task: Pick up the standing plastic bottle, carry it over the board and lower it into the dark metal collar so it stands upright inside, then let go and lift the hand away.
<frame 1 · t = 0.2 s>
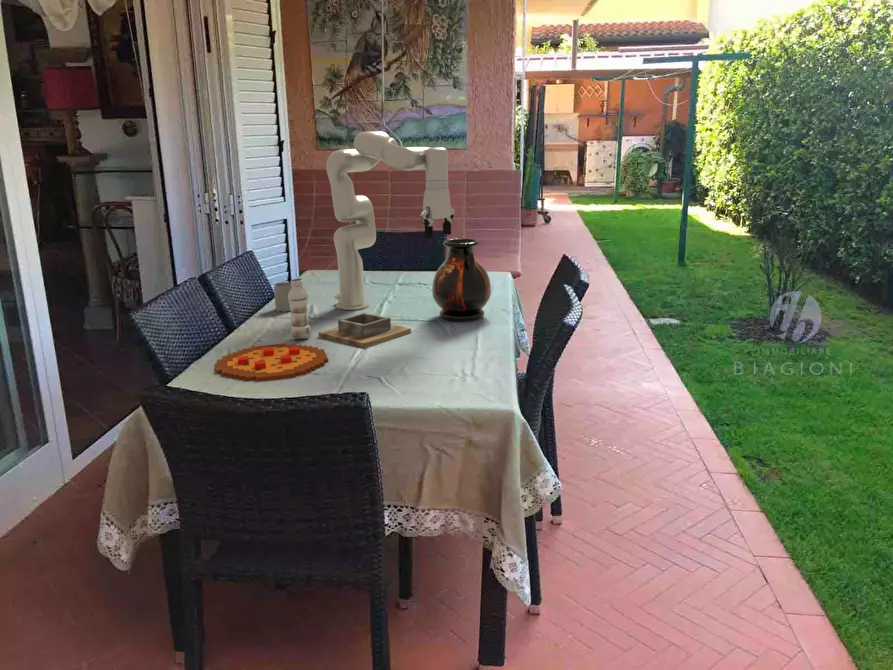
hand: (438, 236, 250), 31 cm above the table, fingers open, 9 cm apart
cup: (286, 309, 284), on the table
plastic bottle: (301, 339, 243), on the table
collar board: (365, 334, 247), on the table
pizza: (272, 364, 219), on the table
amphora vase: (461, 317, 268), on the table
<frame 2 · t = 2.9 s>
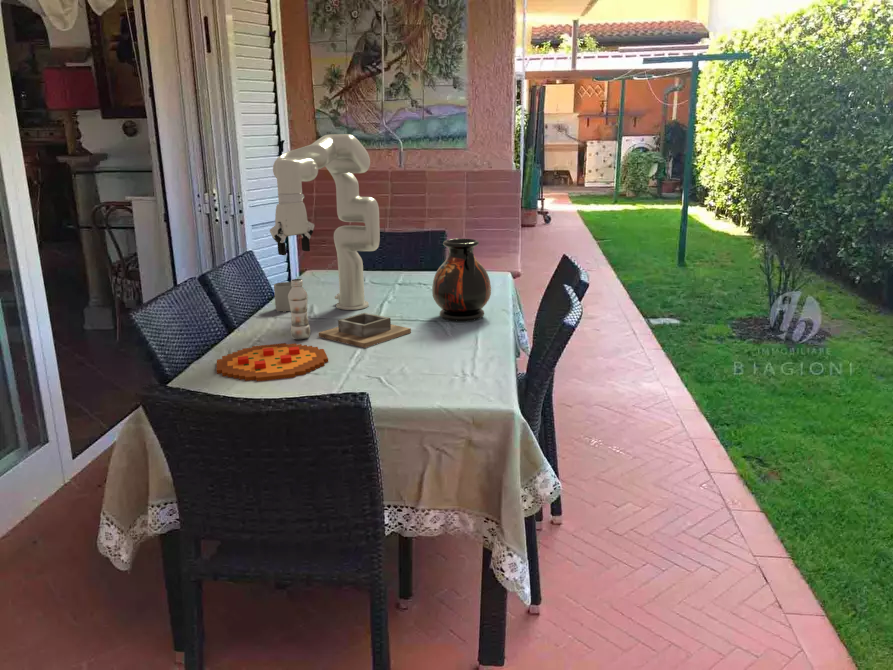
hand: (294, 252, 235), 29 cm above the table, fingers open, 9 cm apart
nothing on the table moved.
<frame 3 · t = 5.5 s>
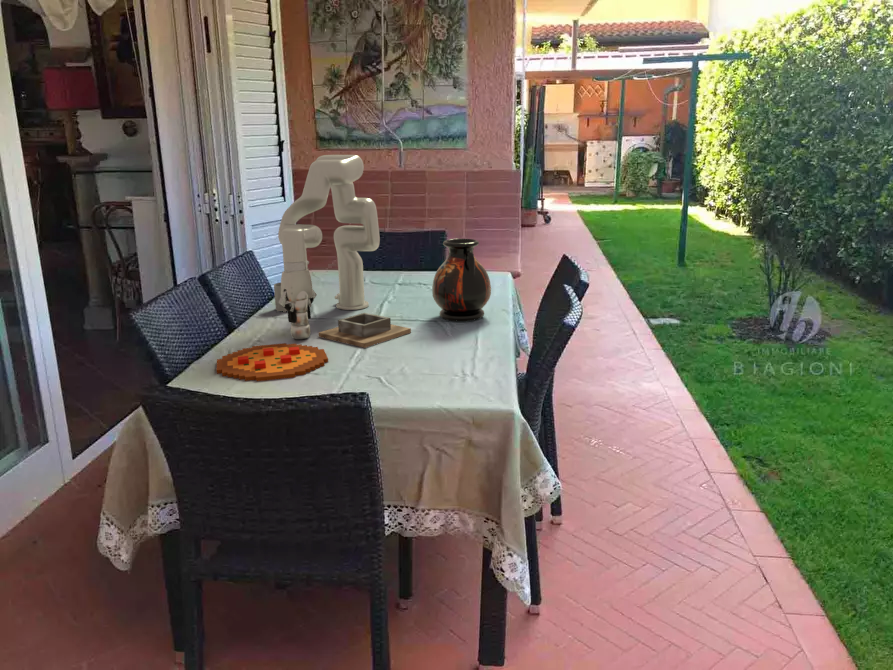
hand: (299, 319, 241), 7 cm above the table, fingers closed on plastic bottle, 5 cm apart
plastic bottle: (301, 339, 243), on the table, touching gripper
everything else where it was.
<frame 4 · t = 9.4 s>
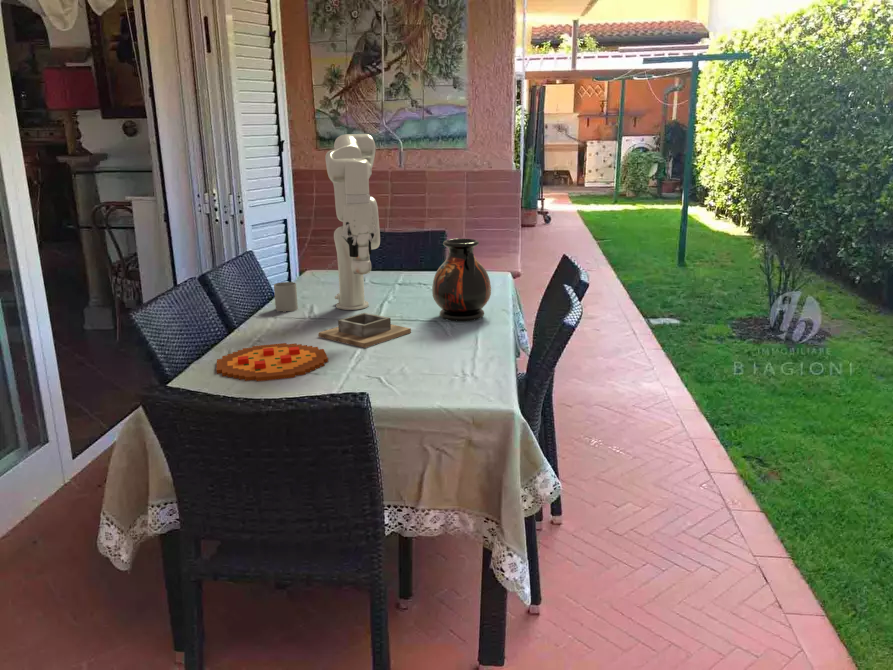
hand: (360, 254, 239), 27 cm above the table, fingers closed on plastic bottle, 5 cm apart
plastic bottle: (361, 275, 241), point 21 cm above the table, touching gripper
everything else where it was.
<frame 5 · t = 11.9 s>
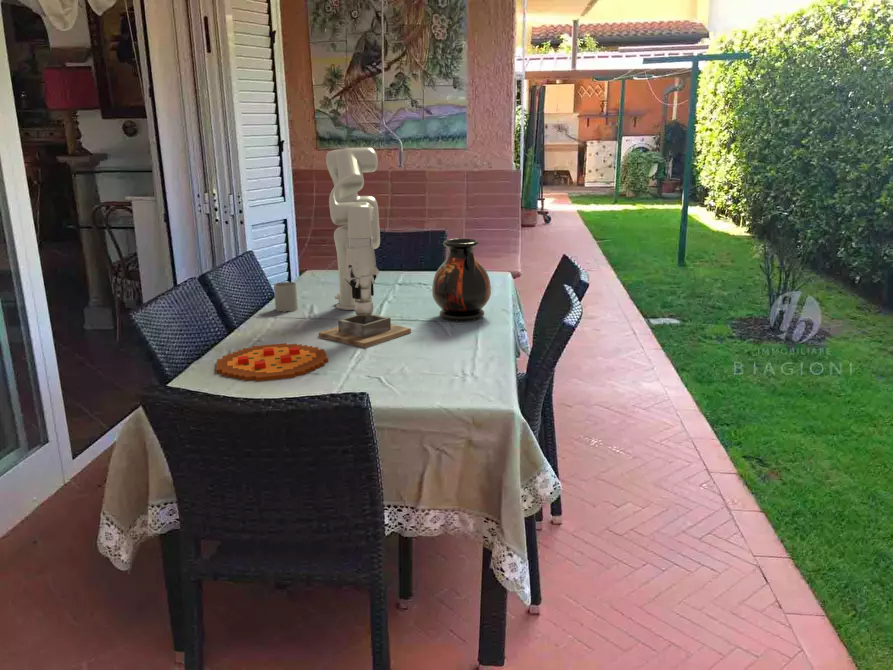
hand: (363, 296, 243), 13 cm above the table, fingers closed on plastic bottle, 5 cm apart
plastic bottle: (364, 315, 245), point 7 cm above the table, touching gripper
everything else where it was.
when the fingers open (9 cm above the table, at t = 13.7 s): plastic bottle drops 1 cm, resting on collar board.
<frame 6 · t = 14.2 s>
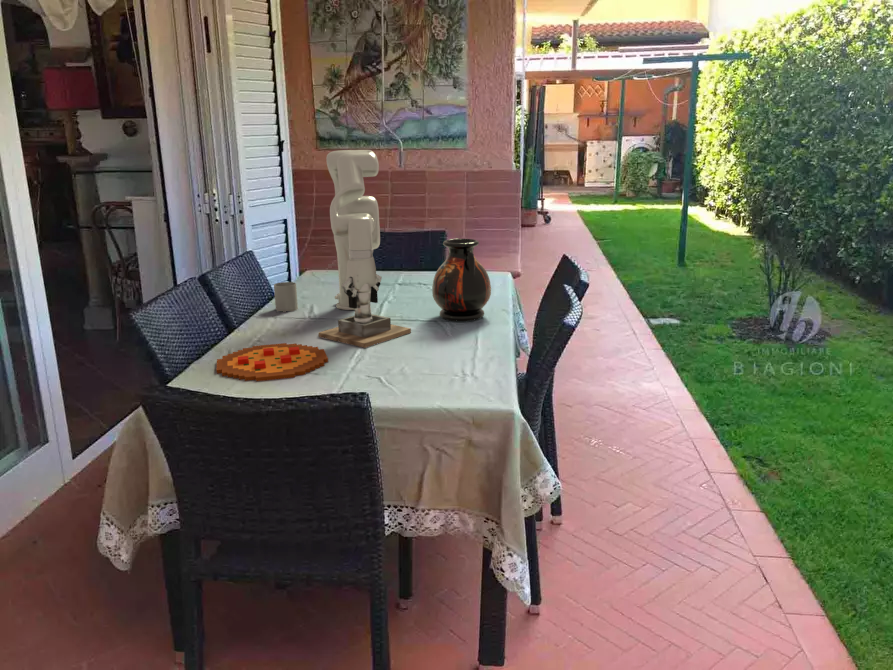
hand: (363, 305, 244), 10 cm above the table, fingers open, 9 cm apart
plastic bottle: (363, 331, 246), point 1 cm above the table, touching collar board
everything else where it was.
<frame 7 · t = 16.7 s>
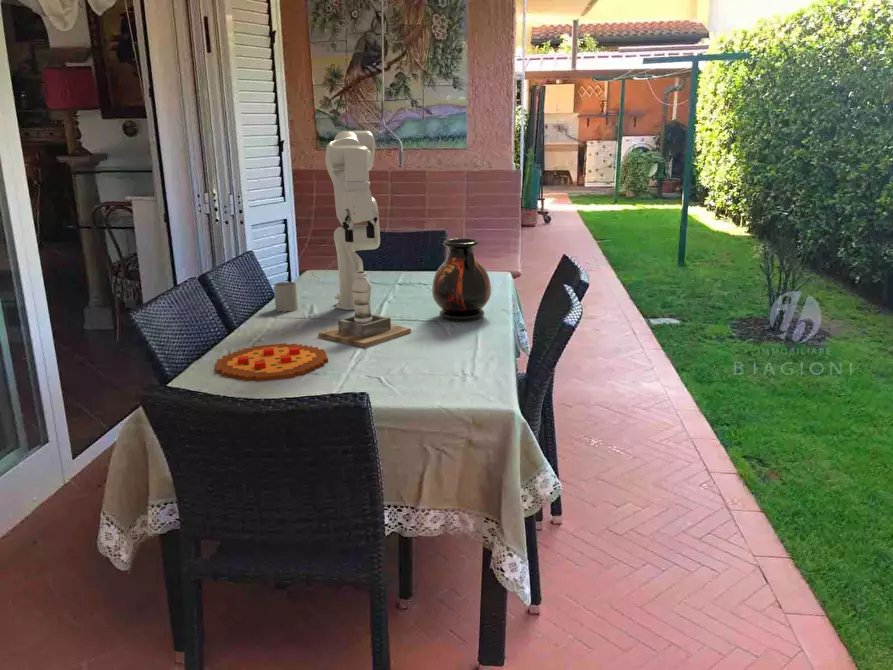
hand: (360, 239, 238), 32 cm above the table, fingers open, 9 cm apart
nothing on the table moved.
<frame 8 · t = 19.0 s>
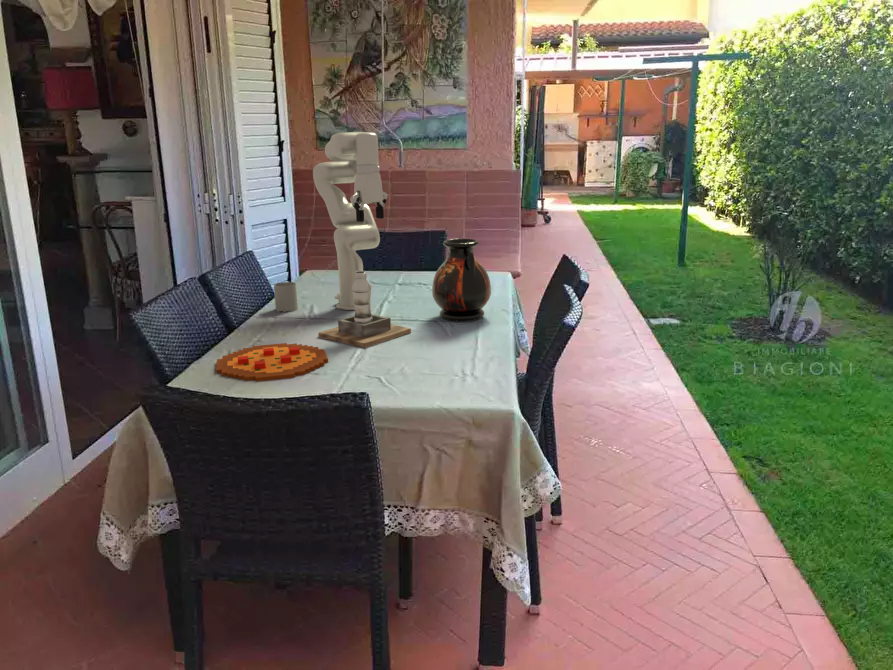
hand: (370, 219, 255), 36 cm above the table, fingers open, 9 cm apart
nothing on the table moved.
at the end: plastic bottle 0.3 cm off-centre on the collar board, point 1.3 cm above the collar board's base; plastic bottle tilted 0°; the gripper is holding nothing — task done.
